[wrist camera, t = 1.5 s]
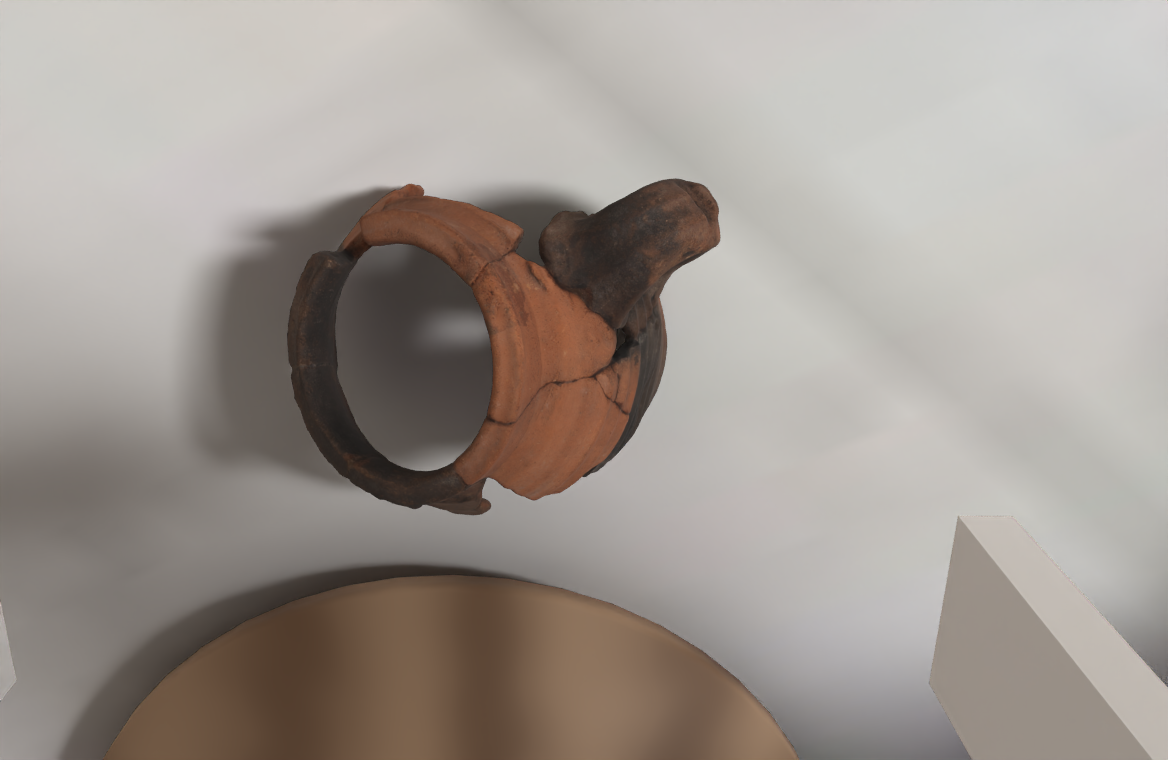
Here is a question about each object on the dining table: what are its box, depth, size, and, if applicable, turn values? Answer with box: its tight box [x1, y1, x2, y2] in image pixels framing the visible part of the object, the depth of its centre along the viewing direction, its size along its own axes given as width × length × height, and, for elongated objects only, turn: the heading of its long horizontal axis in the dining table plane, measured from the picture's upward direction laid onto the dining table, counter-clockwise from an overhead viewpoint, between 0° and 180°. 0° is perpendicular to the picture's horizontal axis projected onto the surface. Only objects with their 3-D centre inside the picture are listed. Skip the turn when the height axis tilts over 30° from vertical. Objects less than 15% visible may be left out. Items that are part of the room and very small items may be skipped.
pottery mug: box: [287, 179, 720, 515], centre depth 27 cm, size 12×10×8 cm
